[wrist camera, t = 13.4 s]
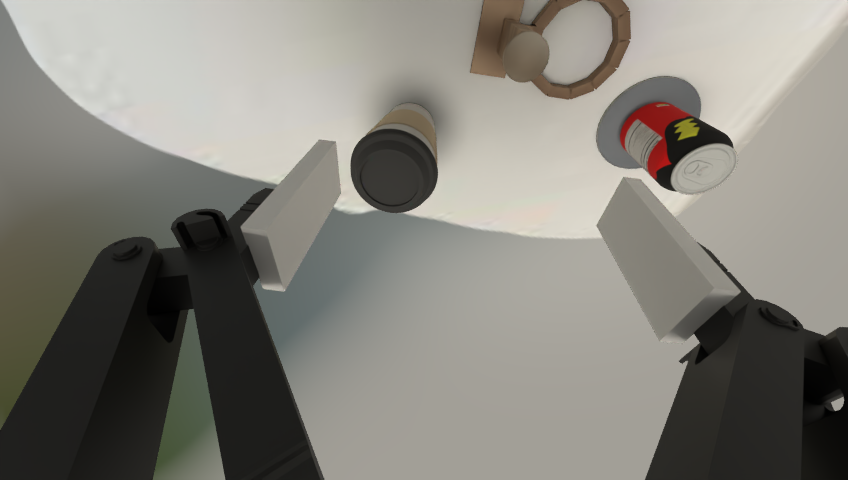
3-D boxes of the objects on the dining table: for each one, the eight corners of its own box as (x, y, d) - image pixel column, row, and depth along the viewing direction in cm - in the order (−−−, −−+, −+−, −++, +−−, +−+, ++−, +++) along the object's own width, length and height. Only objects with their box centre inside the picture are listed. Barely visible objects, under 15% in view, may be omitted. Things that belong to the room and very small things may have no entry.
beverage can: (652, 156, 40) (709, 206, 31) (606, 145, 40) (649, 192, 31) (688, 106, 36) (765, 146, 27) (637, 93, 36) (697, 129, 27)
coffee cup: (454, 111, 40) (451, 162, 28) (428, 171, 45) (416, 233, 34) (387, 81, 38) (355, 122, 27) (369, 146, 44) (335, 203, 32)
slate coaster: (624, 69, 35) (626, 70, 35) (720, 84, 35) (724, 85, 35) (581, 160, 42) (583, 162, 42) (662, 172, 42) (664, 174, 42)
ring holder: (489, -30, 31) (504, -40, 20) (643, -6, 31) (749, -3, 20) (468, 81, 38) (470, 121, 26) (596, 100, 37) (655, 149, 26)
